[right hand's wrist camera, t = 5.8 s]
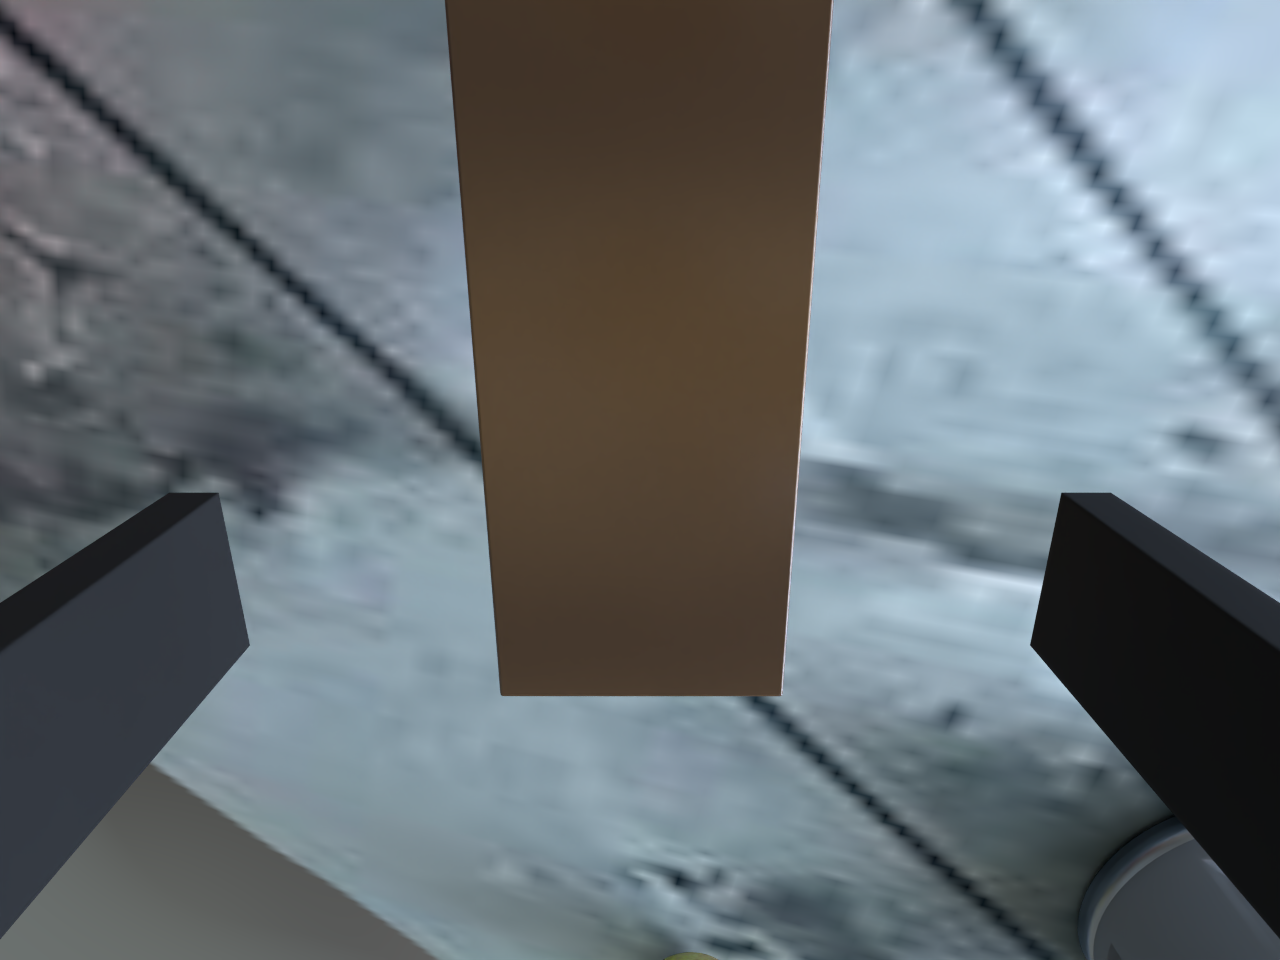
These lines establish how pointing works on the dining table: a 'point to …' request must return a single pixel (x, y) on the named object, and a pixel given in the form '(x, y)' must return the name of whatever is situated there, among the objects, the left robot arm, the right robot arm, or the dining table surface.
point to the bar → (640, 329)
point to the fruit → (690, 956)
